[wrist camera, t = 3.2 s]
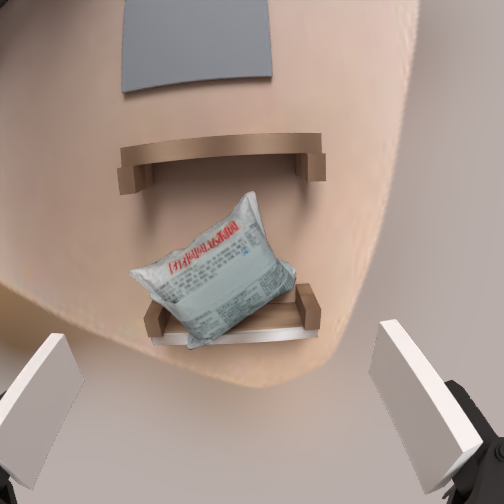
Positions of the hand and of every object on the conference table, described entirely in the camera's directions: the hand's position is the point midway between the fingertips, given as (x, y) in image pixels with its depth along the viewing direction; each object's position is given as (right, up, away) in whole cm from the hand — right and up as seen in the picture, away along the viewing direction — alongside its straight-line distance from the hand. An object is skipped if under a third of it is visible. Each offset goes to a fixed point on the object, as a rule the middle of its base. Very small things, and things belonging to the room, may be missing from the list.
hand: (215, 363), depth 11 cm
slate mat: (-4, +26, +8) cm, 28 cm away
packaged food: (-1, +6, +17) cm, 18 cm away
